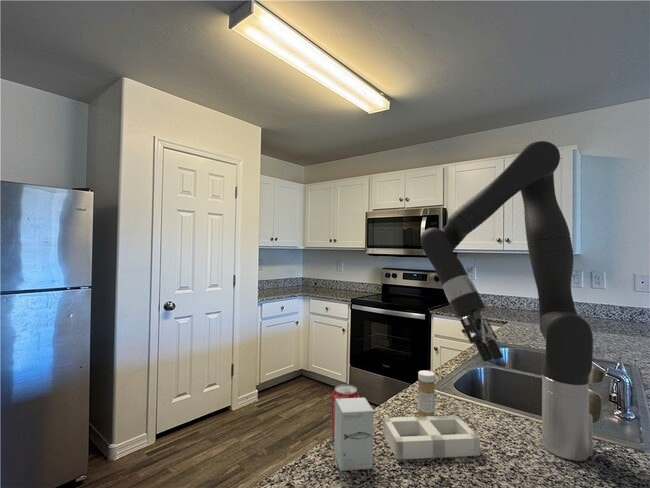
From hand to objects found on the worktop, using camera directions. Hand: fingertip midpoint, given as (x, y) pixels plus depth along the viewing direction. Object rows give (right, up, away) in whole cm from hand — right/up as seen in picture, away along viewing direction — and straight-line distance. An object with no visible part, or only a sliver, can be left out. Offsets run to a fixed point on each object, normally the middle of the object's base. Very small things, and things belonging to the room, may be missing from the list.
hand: (494, 359), depth 80 cm
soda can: (-35, -22, +6) cm, 42 cm away
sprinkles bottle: (-12, -22, +15) cm, 29 cm away
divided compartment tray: (-14, -22, +3) cm, 26 cm away
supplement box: (-34, -21, -4) cm, 40 cm away
